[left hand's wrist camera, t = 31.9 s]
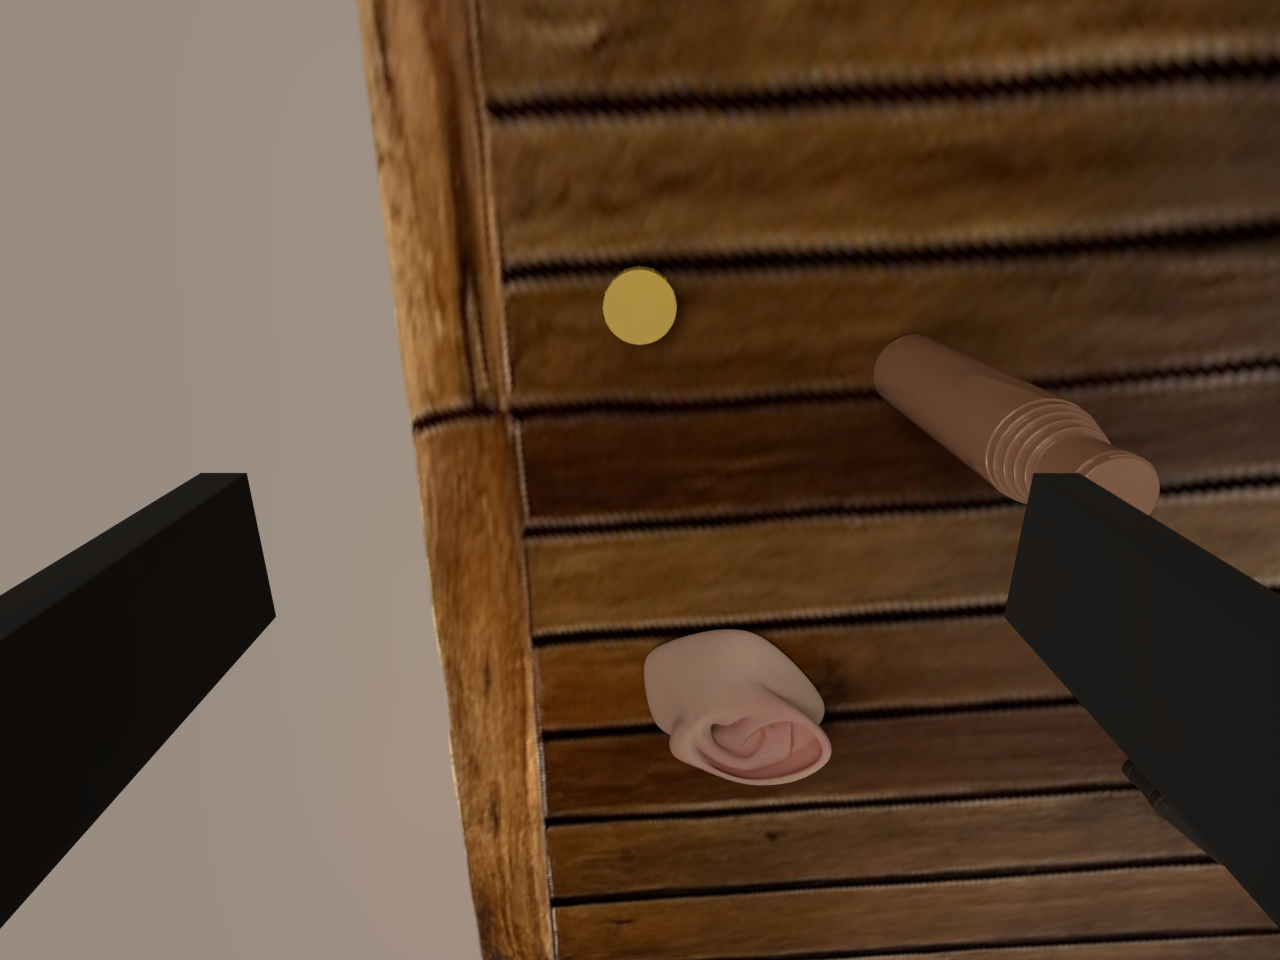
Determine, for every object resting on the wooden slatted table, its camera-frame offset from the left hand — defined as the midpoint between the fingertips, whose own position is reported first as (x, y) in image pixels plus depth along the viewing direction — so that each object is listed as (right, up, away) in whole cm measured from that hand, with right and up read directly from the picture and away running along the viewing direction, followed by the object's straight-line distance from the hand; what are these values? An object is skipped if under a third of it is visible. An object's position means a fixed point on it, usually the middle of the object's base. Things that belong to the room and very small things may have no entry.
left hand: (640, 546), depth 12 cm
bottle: (+17, +8, +33) cm, 38 cm away
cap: (0, +11, +29) cm, 31 cm away
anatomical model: (+7, -15, +41) cm, 45 cm away
